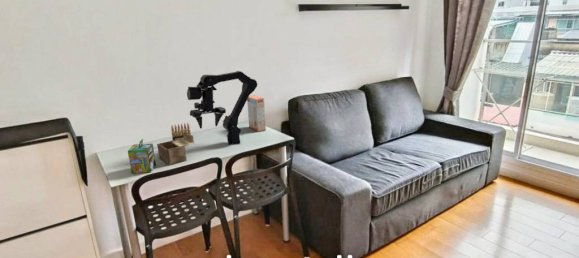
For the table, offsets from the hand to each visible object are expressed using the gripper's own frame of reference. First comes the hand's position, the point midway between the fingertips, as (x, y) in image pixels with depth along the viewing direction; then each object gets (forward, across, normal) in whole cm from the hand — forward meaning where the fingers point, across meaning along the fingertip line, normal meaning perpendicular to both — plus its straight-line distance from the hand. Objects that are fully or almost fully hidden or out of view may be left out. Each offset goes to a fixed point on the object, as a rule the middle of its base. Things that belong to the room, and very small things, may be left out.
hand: (208, 127), depth 187 cm
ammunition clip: (+13, +6, -20) cm, 24 cm away
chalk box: (+15, +37, +4) cm, 40 cm away
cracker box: (+9, -40, -10) cm, 43 cm away
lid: (+6, +16, +2) cm, 17 cm away
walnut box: (+14, +22, +2) cm, 26 cm away
